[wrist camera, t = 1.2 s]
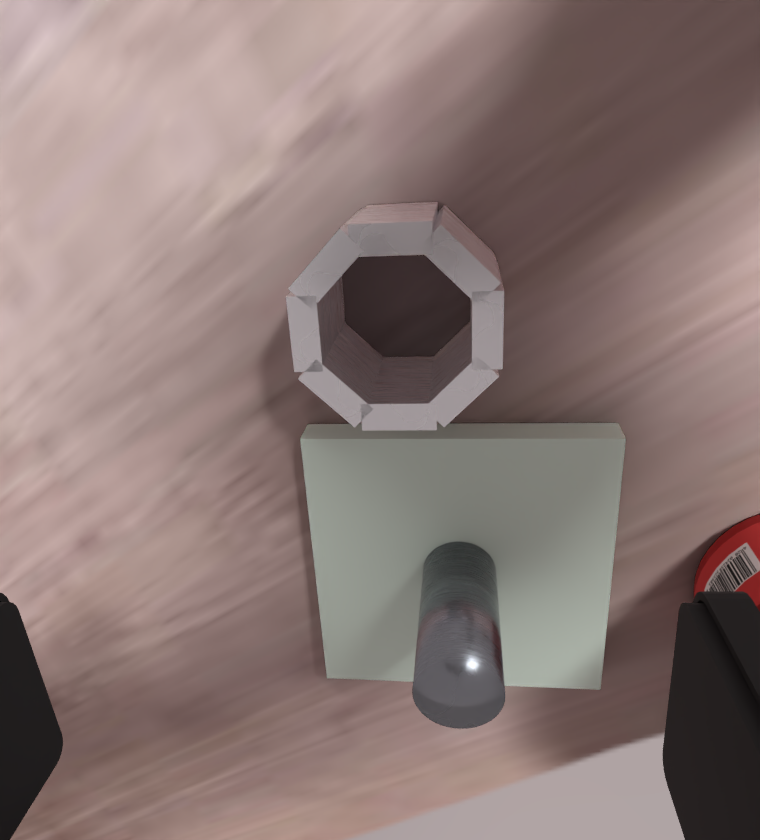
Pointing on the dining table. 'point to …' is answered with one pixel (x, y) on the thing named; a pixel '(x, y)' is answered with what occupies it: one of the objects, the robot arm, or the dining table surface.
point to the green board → (466, 539)
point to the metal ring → (397, 376)
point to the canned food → (733, 562)
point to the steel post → (459, 638)
